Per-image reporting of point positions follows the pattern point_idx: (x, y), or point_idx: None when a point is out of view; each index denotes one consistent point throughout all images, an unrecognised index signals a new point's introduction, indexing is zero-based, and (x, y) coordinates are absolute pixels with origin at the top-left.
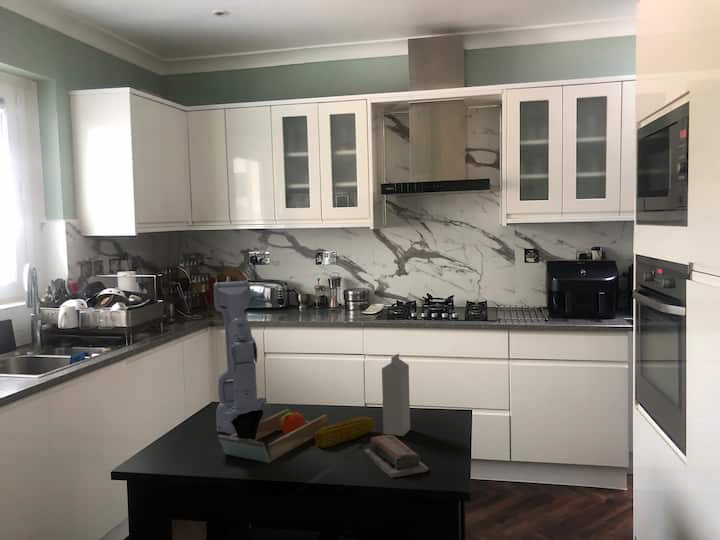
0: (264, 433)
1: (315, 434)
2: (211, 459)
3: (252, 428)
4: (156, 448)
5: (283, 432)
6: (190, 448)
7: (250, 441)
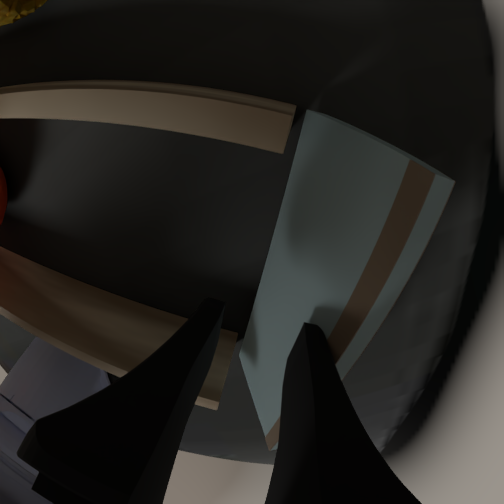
0: (40, 283)
1: (2, 5)
2: None
3: (193, 379)
4: (241, 457)
5: (3, 217)
6: (216, 424)
7: (382, 307)
